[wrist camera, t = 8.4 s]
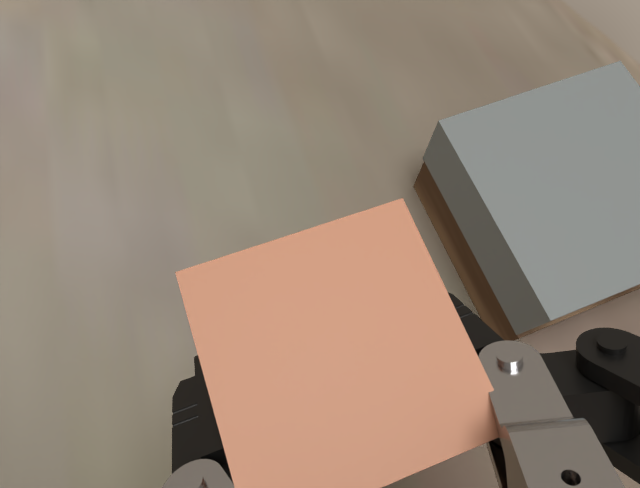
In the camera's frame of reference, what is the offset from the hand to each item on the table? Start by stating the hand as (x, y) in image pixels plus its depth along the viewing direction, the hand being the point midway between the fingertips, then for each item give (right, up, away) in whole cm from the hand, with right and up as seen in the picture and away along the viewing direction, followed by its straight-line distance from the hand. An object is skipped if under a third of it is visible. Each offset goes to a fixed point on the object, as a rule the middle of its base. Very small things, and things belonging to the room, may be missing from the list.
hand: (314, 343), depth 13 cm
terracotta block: (0, -3, +5) cm, 6 cm away
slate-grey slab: (+14, +5, +16) cm, 22 cm away
